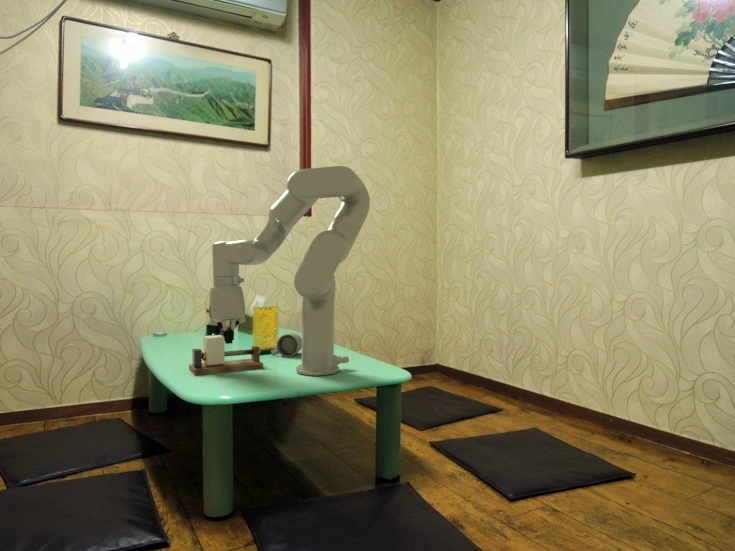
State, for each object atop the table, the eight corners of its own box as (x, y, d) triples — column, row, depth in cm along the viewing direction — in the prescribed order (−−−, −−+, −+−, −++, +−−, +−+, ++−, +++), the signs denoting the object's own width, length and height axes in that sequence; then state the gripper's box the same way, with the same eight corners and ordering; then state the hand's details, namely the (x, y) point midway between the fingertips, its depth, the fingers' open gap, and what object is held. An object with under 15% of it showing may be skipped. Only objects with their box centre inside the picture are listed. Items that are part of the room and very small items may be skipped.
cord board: (254, 362, 161) (254, 344, 161) (263, 368, 154) (263, 348, 153) (189, 369, 152) (188, 349, 152) (194, 375, 144) (194, 354, 144)
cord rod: (252, 360, 158) (252, 344, 158) (255, 362, 155) (255, 345, 155) (192, 365, 149) (192, 349, 149) (194, 367, 147) (194, 350, 146)
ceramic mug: (303, 352, 179) (303, 331, 179) (298, 357, 171) (297, 334, 171) (274, 352, 181) (274, 331, 180) (267, 356, 172) (267, 334, 172)
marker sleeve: (220, 360, 154) (220, 334, 154) (224, 363, 150) (224, 337, 150) (203, 362, 152) (203, 336, 152) (207, 365, 147) (207, 338, 147)
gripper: (248, 281, 159) (250, 339, 160) (198, 283, 152) (200, 343, 153) (254, 281, 152) (256, 342, 153) (203, 283, 145) (205, 347, 146)
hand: (228, 343), depth 153 cm, fingers closed
